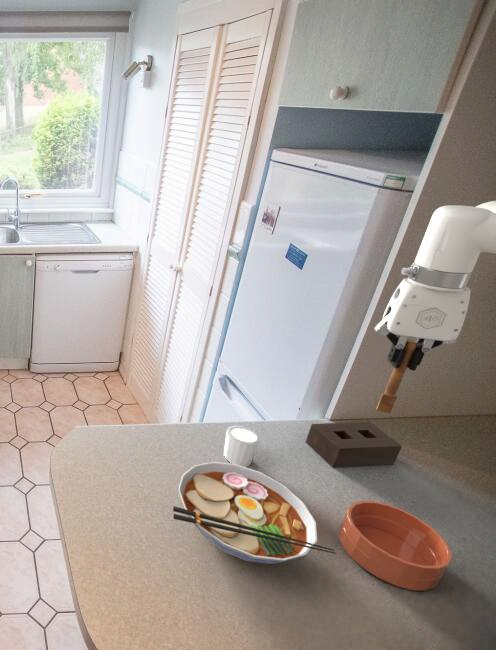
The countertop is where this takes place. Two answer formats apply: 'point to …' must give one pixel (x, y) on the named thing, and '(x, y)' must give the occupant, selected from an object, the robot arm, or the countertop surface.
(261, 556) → the ramen bowl
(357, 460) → the holder
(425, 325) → the robot arm
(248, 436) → the white short cylinder
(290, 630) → the countertop surface
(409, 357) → the stick
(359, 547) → the baking dish
